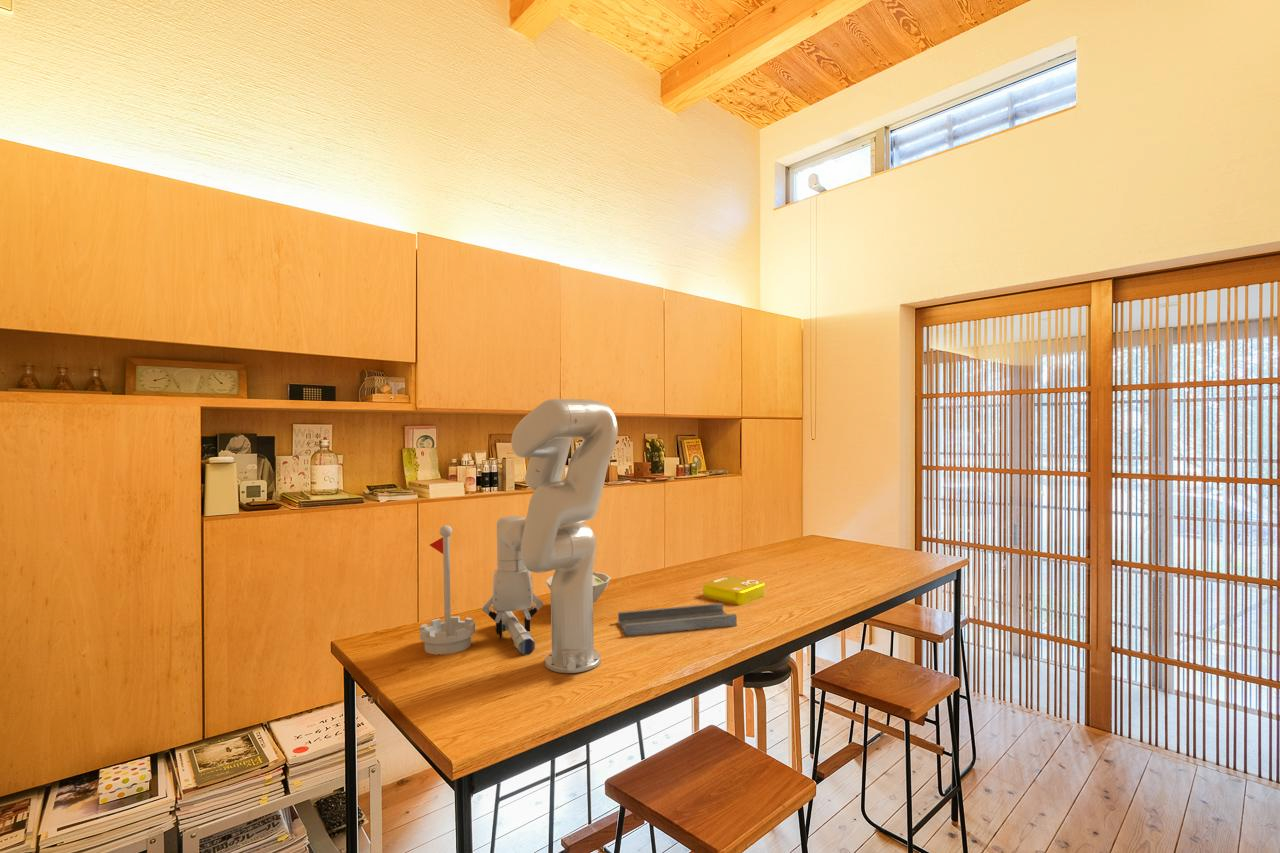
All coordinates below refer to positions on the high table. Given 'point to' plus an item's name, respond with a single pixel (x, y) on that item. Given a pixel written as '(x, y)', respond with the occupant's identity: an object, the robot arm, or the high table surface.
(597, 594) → the bowl
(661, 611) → the pipe channel
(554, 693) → the high table surface
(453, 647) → the flag stand
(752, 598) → the element tile
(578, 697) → the high table surface
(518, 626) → the grey elongated piece
